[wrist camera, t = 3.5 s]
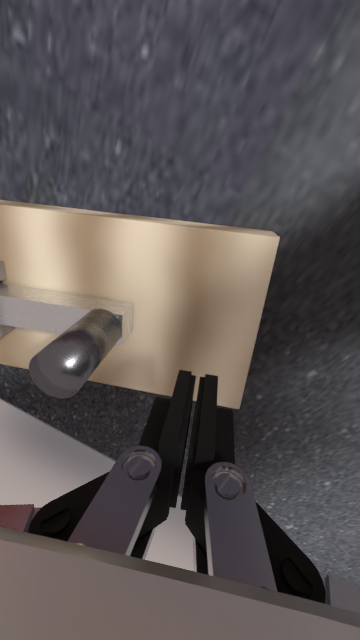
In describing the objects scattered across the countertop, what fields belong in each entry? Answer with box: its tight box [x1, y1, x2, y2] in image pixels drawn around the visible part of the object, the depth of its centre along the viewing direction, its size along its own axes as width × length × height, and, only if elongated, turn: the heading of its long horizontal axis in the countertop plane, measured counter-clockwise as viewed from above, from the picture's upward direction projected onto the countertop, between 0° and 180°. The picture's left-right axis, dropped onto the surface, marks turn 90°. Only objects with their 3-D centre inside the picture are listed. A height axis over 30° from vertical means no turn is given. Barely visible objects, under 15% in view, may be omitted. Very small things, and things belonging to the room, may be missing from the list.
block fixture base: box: [0, 200, 280, 409], centre depth 19 cm, size 30×12×7 cm, turn 85°
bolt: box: [0, 283, 133, 399], centre depth 16 cm, size 13×2×7 cm, turn 85°
